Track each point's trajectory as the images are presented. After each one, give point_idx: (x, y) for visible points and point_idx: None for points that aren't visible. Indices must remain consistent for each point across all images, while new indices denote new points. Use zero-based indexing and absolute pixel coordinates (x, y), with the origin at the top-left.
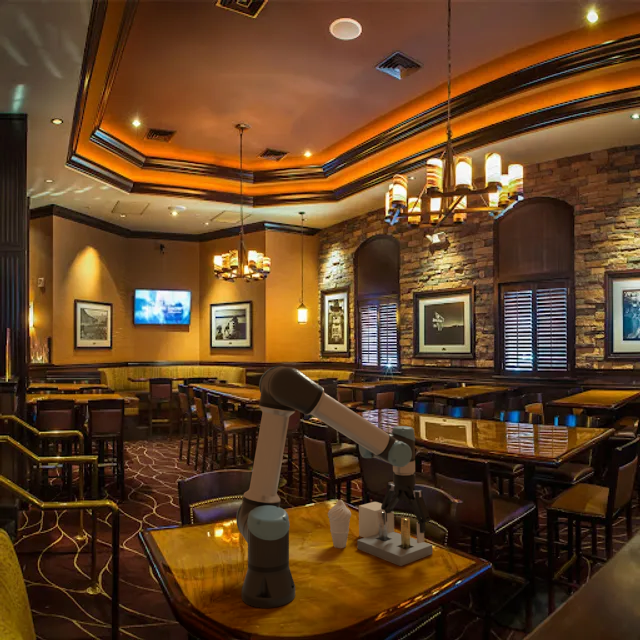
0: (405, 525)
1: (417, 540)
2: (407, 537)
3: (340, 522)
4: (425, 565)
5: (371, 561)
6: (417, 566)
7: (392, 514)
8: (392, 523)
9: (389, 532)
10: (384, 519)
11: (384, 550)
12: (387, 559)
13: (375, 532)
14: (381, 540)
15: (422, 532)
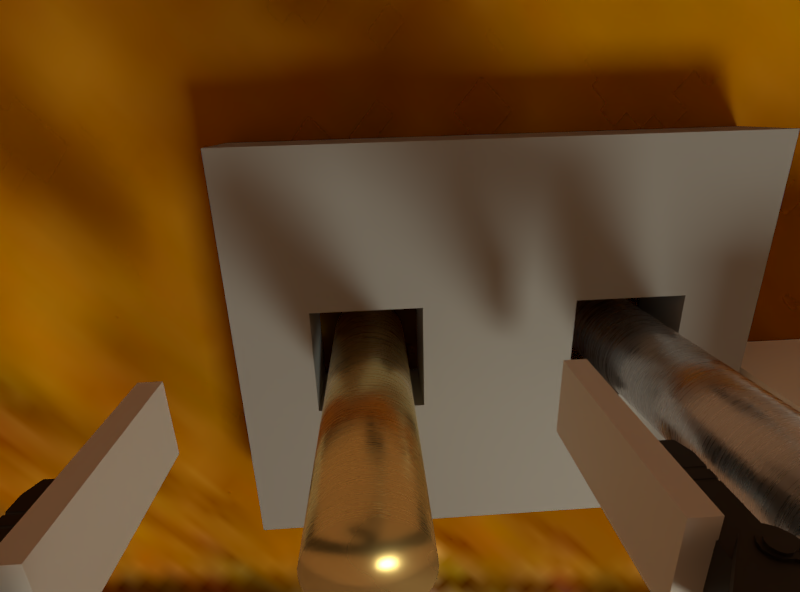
0: (323, 478)
1: (144, 396)
2: (324, 403)
3: None
4: (138, 309)
5: (460, 10)
6: (152, 249)
7: (654, 566)
8: (595, 470)
9: (563, 371)
10: (723, 455)
11: (418, 141)
12: (376, 138)
13: (760, 380)
14: (619, 312)
15: (34, 488)
